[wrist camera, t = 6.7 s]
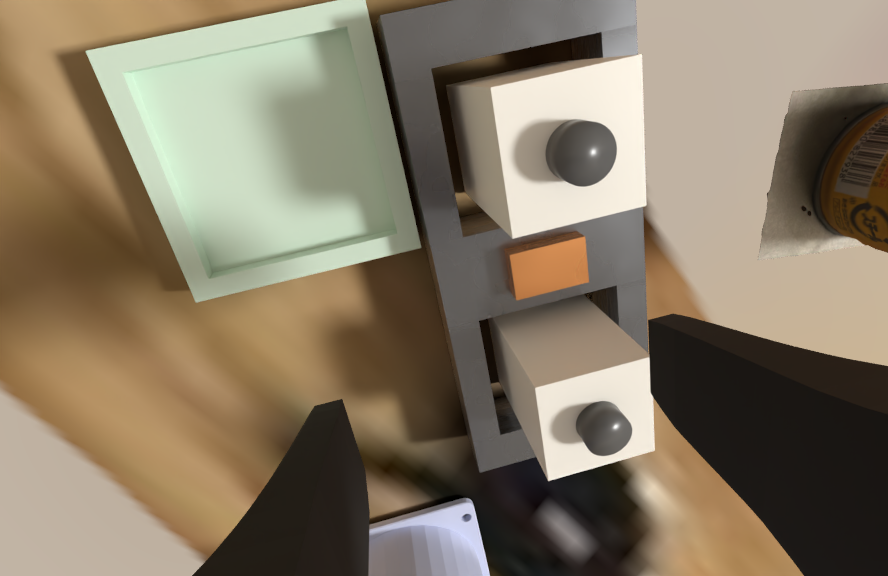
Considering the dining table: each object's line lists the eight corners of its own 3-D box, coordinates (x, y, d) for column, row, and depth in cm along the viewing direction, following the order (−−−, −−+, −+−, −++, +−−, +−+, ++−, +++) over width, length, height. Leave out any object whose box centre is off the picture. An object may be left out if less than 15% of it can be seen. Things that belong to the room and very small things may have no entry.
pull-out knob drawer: (580, 360, 24) (667, 466, 17) (499, 382, 24) (557, 498, 17) (573, 284, 22) (665, 369, 16) (486, 306, 22) (543, 402, 15)
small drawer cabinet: (623, 393, 25) (659, 434, 22) (467, 436, 24) (483, 484, 22) (598, -22, 18) (646, -42, 15) (376, 23, 17) (381, 12, 14)
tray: (417, 238, 20) (421, 247, 19) (204, 290, 20) (195, 302, 19) (363, 0, 17) (364, -6, 16) (103, 53, 16) (85, 50, 15)
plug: (561, 169, 20) (662, 212, 14) (465, 192, 20) (521, 247, 13) (550, 62, 19) (659, 52, 12) (445, 85, 18) (498, 87, 12)
